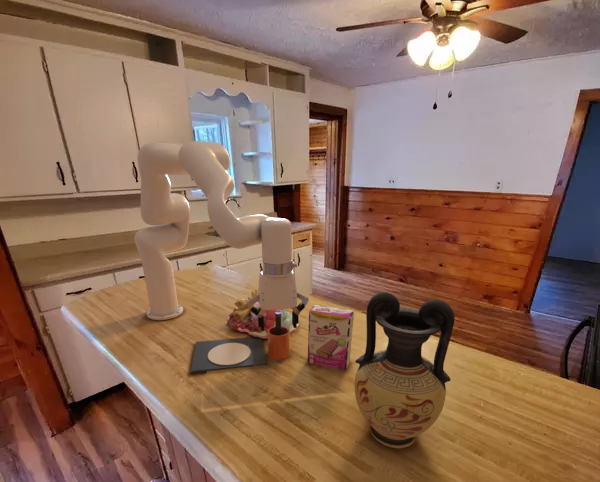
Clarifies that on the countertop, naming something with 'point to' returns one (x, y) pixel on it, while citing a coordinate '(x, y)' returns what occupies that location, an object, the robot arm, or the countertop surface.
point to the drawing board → (228, 354)
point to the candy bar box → (330, 336)
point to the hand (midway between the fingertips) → (278, 327)
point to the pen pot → (278, 343)
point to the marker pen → (278, 323)
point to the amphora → (403, 369)
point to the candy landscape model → (249, 321)
